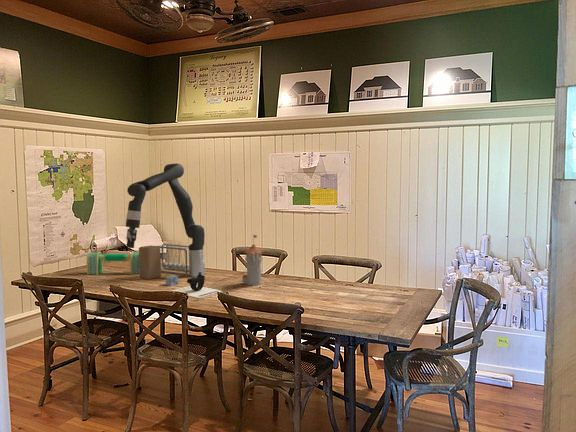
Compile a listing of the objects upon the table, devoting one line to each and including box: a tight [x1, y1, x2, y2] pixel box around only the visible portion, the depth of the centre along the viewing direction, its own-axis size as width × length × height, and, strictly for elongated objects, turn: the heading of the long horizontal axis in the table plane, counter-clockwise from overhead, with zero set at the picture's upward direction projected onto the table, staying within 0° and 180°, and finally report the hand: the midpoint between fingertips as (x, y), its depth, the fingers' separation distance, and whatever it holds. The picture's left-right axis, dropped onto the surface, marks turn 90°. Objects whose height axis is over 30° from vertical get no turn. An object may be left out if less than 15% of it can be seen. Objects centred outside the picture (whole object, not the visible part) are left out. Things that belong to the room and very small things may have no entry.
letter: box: [171, 285, 223, 299], centre depth 267 cm, size 18×24×1 cm
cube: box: [165, 275, 179, 287], centre depth 284 cm, size 5×5×5 cm
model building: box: [242, 234, 263, 286], centre depth 284 cm, size 14×12×30 cm
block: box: [138, 245, 162, 280], centre depth 302 cm, size 10×10×20 cm
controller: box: [186, 272, 206, 291], centre depth 267 cm, size 4×12×10 cm, turn 149°
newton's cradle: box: [157, 243, 189, 276], centre depth 320 cm, size 30×10×18 cm, turn 62°
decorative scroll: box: [86, 251, 140, 276], centre depth 316 cm, size 36×8×15 cm, turn 91°
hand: (130, 247), depth 266 cm, fingers open, 8 cm apart
